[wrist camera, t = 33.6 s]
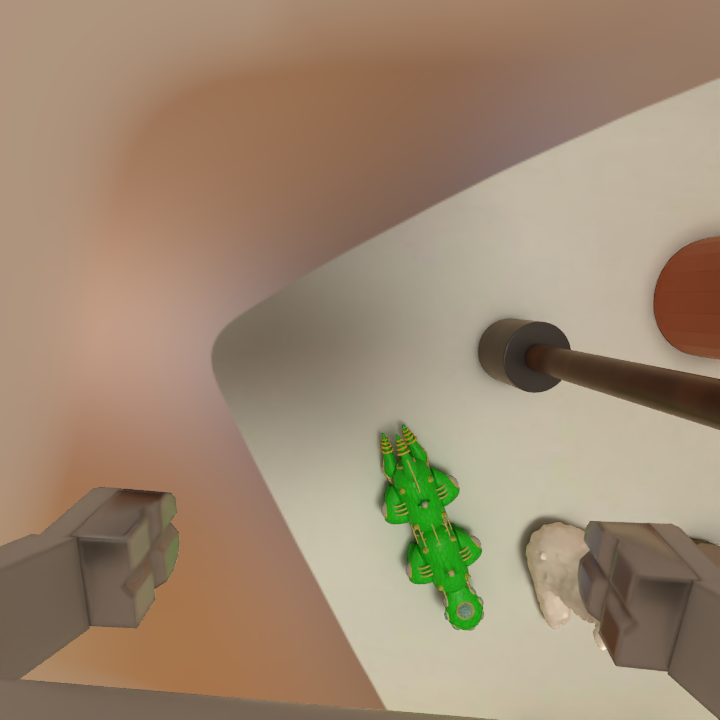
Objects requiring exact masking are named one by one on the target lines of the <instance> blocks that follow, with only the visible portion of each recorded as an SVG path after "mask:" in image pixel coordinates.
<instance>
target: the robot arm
mask: <svg viewBox="0 0 720 720" xmlns="http://www.w3.org/2000/svg"><path fill="white" fill-rule="evenodd" d="M176 513H177V508H176V499H175V497H174V496H173V495H172V493H167V492H155V491H144V490H132V489H121V488H105V487H99V488H93V489H92V490H91V491H90V492H89V493H87V494H86V495H85V496H84V497H83V498H82V499H80V500H79V501H78V502H77V503H76V504H75V505H73V507H71V508H70V509H69V510H68V511H67V512H65V513H64V514H63V515H62V516H61V517H60V518H58V519H57V520H56V521H55V522H54V523H53V524H51V525H50V526H49V527H48V528H47V529H46V530H45V531H43V532H42V533H41V534H40V535H36V534H31V535H28V536H26V537H23V538H21V539H18V540H15V541H13V542H10V543H8V544H5V545H3V546H0V720H496V719H485V718H473V717H461V716H450V715H437V714H425V713H413V712H401V711H389V710H377V709H365V708H353V707H341V706H329V705H317V704H305V703H293V702H280V701H268V700H257V699H256V700H255V699H245V698H244V699H243V698H233V697H221V696H209V695H198V694H184V693H174V692H163V691H151V690H139V689H127V688H115V687H104V686H92V685H80V684H68V683H56V682H45V681H33V680H21V679H20V678H21V677H23V676H24V675H26V674H27V673H28V672H30V671H31V670H33V669H34V668H35V667H37V666H38V665H40V664H41V663H42V662H44V661H45V660H46V659H48V658H49V657H51V656H52V655H53V654H55V653H56V652H58V651H59V650H60V649H62V648H63V647H64V646H66V645H67V644H69V643H70V642H71V641H73V640H74V639H76V638H77V637H78V636H80V635H81V634H83V633H84V632H85V631H87V630H88V629H89V626H102V627H122V628H137V627H138V626H139V624H140V623H141V621H142V620H143V618H144V616H145V615H146V613H147V612H148V610H149V609H150V607H151V605H152V604H153V602H154V601H155V591H154V589H155V588H157V587H159V586H160V585H162V584H164V583H165V582H166V581H167V580H168V578H169V577H170V575H171V573H172V571H173V569H174V566H175V563H176V560H177V557H178V551H179V532H178V531H177V529H176V528H175V527H174V526H173V524H172V523H171V522H170V521H171V520H172V519H173V517H174V516H175V514H176ZM584 541H585V543H586V545H587V546H588V548H589V551H588V552H587V553H586V554H585V555H584V556H583V557H582V558H581V559H580V561H579V568H578V574H577V576H578V587H579V593H580V596H581V599H582V602H583V604H584V606H585V608H586V610H587V612H588V613H589V614H590V615H591V616H593V617H594V618H595V619H596V620H598V621H599V622H600V627H599V632H598V633H599V635H600V637H601V639H602V641H603V643H604V645H605V647H606V648H607V650H608V652H609V654H610V656H611V658H612V660H613V662H614V664H615V665H616V666H621V667H630V668H639V669H649V670H658V671H667V672H668V675H669V676H671V677H672V678H673V679H674V680H675V681H676V682H677V683H678V684H680V685H681V686H682V687H683V688H684V689H685V690H686V691H687V692H689V693H690V694H691V695H692V696H693V697H694V698H695V699H696V700H698V701H699V702H700V703H701V704H702V705H703V706H704V707H705V708H707V709H708V710H709V711H710V712H711V713H712V714H713V715H714V716H716V717H717V718H718V719H719V720H720V568H719V567H718V566H717V565H716V564H715V563H714V562H713V561H712V560H711V559H710V558H709V557H708V556H707V555H706V554H705V553H704V552H703V551H702V550H701V549H700V548H699V547H698V546H697V545H696V544H695V543H694V542H693V541H692V540H691V539H690V538H689V537H688V536H687V535H686V534H685V533H684V532H683V531H682V530H681V529H680V528H679V527H677V526H675V525H673V524H660V523H625V522H601V521H590V522H589V524H588V525H587V527H586V530H585V535H584Z"/></svg>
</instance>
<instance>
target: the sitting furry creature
mask: <svg viewBox="0 0 720 720" xmlns="http://www.w3.org/2000/svg"><path fill="white" fill-rule="evenodd" d="M584 535H585V531H582V530H581V529H579V528H576V527H575V526H573V525H565V524H563V523H561V522H555V523H552V524H547V525H546V524H544V525H543V526H542V527H541V528H540V529H539V530H538V531H535V532H534V533H533V534H532V535H531V538H530V542H529V544H528V545H527V547H526V553H525V554H526V556H527V558H528V561H527V565H528V567H529V571H530V573H531V577H532V581H534V587H535V592H536V594H537V600H538V601H539V602H540V609H541V610H542V612H543V614H544V618H545V620H546V622H547V623H548V625H549V626H550V627H551V628H553V629H557V628H559V626H560V623H561V624H563V625H565V624H567V623H568V622H569V620H570V615H571V611H570V609H572V610H573V612H574V613H575V614H576V615H578V616H580V617H581V618H582V619H583V620H587V621H588V622H589V623H595V629H594V631H593V634H594V638H595V641H596V643H597V646H598V647H599V648H601V649H602V650H607V648H606V647H605V645H604V643H603V641H602V639H601V637H600V635H599V633H598V632H599V627H600V622H599V621H598V620H596V619H595V618H594V617H593V616H591V615H590V614H589V613H588V612H587V610H586V608H585V606H584V604H583V602H582V599H581V596H580V593H579V587H578V576H577V574H578V568H579V561H580V559H581V558H582V557H583V556H584V555H585V554H586V553H587V552H588V551H589V548H588V546H587V545H586V543H585V541H584ZM569 608H570V609H569Z"/></svg>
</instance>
